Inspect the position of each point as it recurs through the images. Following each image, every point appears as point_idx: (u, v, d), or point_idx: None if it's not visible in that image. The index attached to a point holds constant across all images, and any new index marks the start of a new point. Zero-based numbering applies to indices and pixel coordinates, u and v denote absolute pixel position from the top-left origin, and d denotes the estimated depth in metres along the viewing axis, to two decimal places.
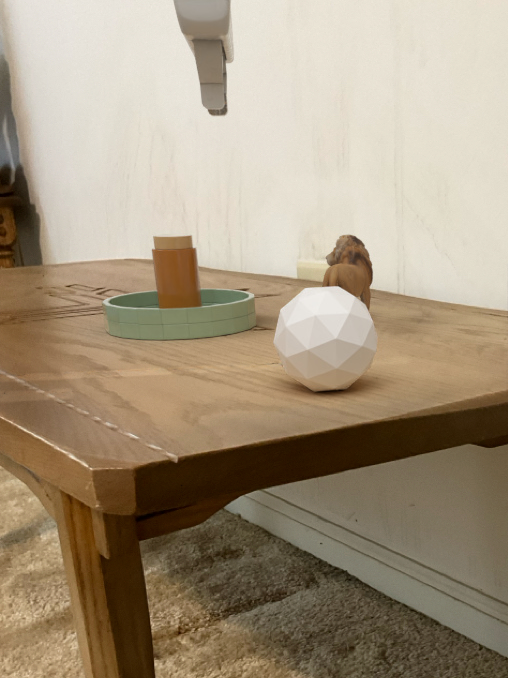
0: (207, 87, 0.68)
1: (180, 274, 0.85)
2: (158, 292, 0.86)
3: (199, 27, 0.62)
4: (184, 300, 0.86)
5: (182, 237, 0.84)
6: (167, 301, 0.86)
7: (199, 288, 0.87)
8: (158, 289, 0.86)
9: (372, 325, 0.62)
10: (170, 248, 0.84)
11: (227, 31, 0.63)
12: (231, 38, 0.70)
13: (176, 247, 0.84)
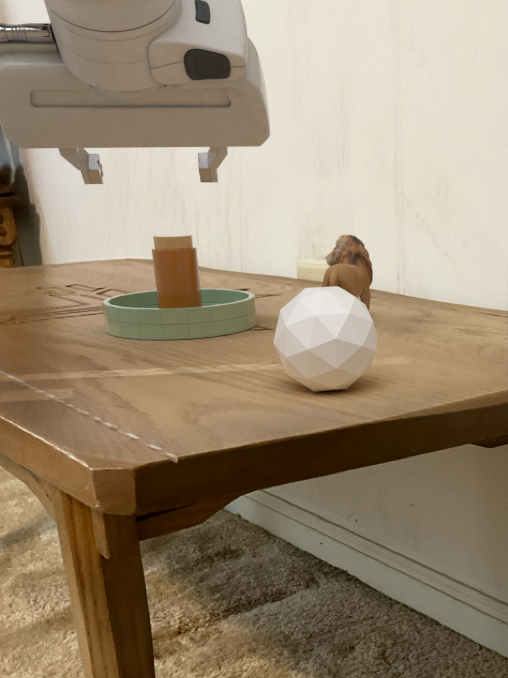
0: None
1: (180, 274, 0.85)
2: (158, 292, 0.86)
3: None
4: (184, 300, 0.86)
5: (182, 237, 0.84)
6: (167, 301, 0.86)
7: (199, 288, 0.87)
8: (158, 289, 0.86)
9: (372, 325, 0.62)
10: (170, 248, 0.84)
11: None
12: None
13: (176, 247, 0.84)
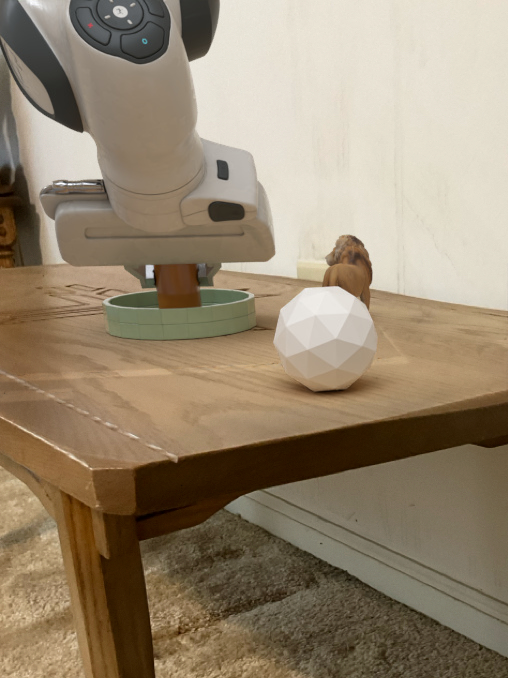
0: None
1: (180, 274, 0.85)
2: (158, 292, 0.86)
3: None
4: (184, 300, 0.86)
5: None
6: (167, 301, 0.86)
7: (199, 288, 0.87)
8: (158, 289, 0.86)
9: (372, 325, 0.62)
10: None
11: None
12: None
13: None
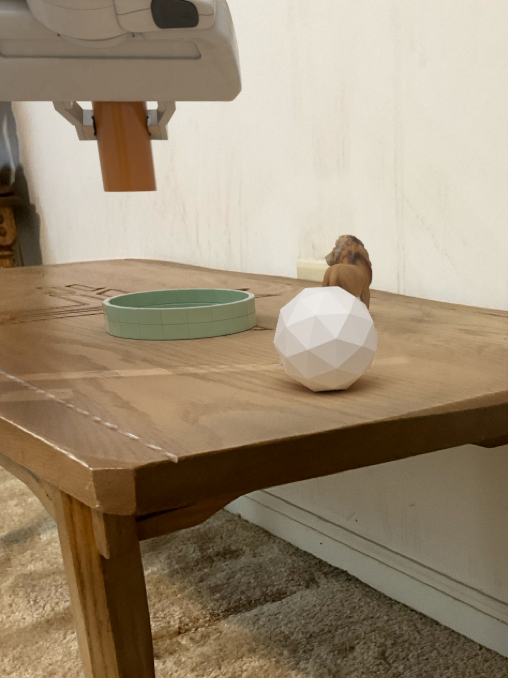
0: None
1: (125, 119, 0.69)
2: (98, 144, 0.70)
3: None
4: (130, 153, 0.70)
5: None
6: (109, 154, 0.70)
7: (149, 141, 0.71)
8: (98, 140, 0.70)
9: (372, 325, 0.62)
10: None
11: None
12: None
13: None
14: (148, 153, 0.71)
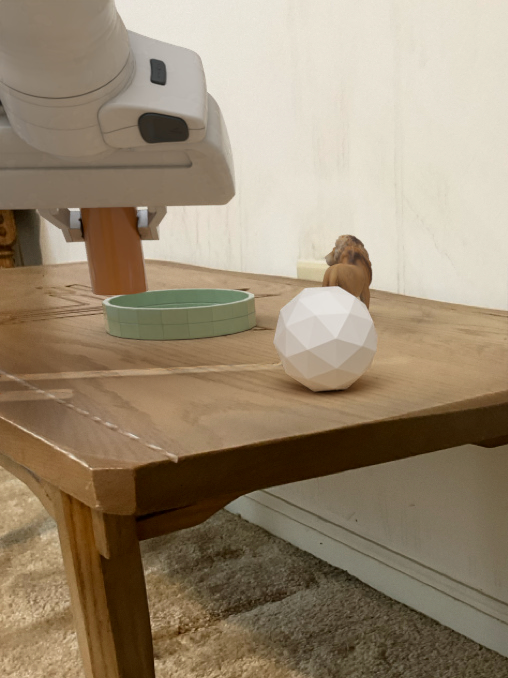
0: None
1: (113, 222, 0.66)
2: (86, 246, 0.67)
3: None
4: (119, 256, 0.67)
5: None
6: (97, 257, 0.67)
7: (140, 242, 0.68)
8: (86, 242, 0.67)
9: (372, 325, 0.62)
10: None
11: None
12: None
13: None
14: (138, 255, 0.68)
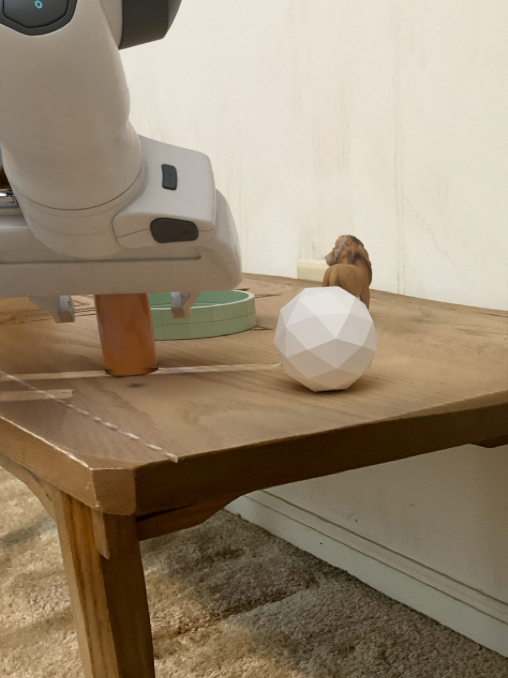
0: None
1: (126, 308, 0.68)
2: (99, 329, 0.70)
3: None
4: (131, 340, 0.69)
5: None
6: (110, 340, 0.69)
7: (151, 324, 0.71)
8: (99, 326, 0.69)
9: (372, 325, 0.62)
10: None
11: None
12: None
13: None
14: (149, 336, 0.70)
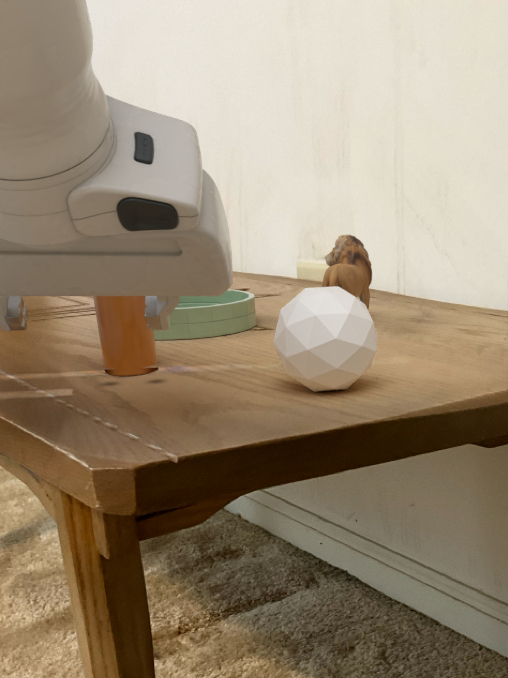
0: None
1: (126, 308, 0.68)
2: (99, 329, 0.70)
3: None
4: (131, 340, 0.69)
5: None
6: (110, 340, 0.69)
7: None
8: (99, 326, 0.69)
9: (372, 325, 0.62)
10: None
11: None
12: None
13: None
14: (149, 336, 0.70)
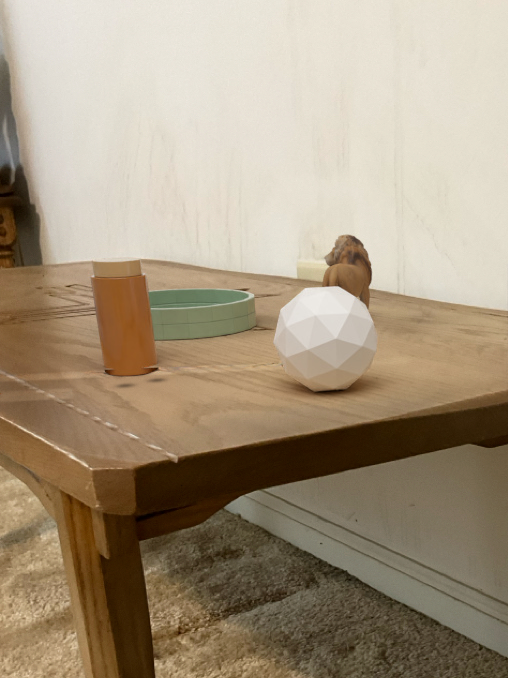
0: None
1: (126, 308, 0.68)
2: (99, 329, 0.70)
3: None
4: (131, 340, 0.69)
5: (127, 262, 0.67)
6: (110, 340, 0.69)
7: (151, 324, 0.71)
8: (99, 326, 0.69)
9: (372, 325, 0.62)
10: (112, 276, 0.67)
11: None
12: None
13: (120, 275, 0.67)
14: (149, 336, 0.70)
